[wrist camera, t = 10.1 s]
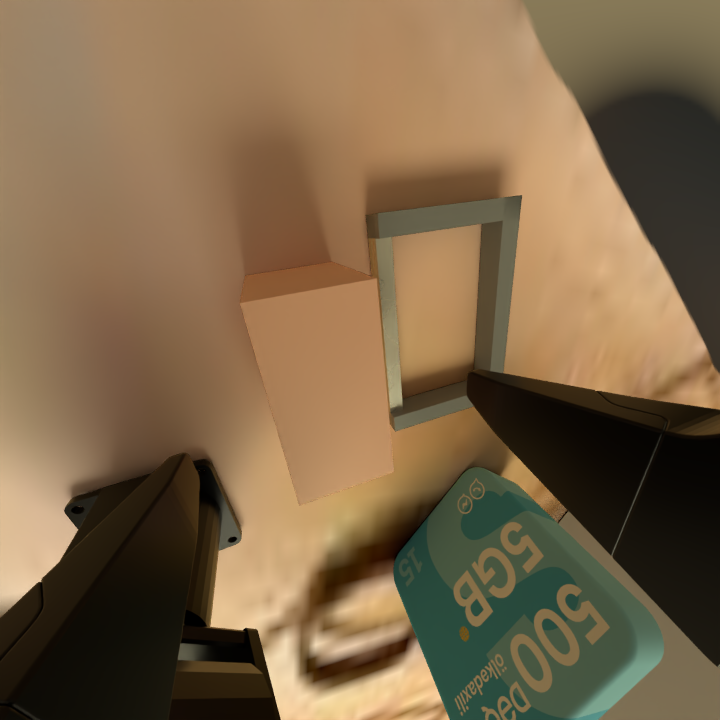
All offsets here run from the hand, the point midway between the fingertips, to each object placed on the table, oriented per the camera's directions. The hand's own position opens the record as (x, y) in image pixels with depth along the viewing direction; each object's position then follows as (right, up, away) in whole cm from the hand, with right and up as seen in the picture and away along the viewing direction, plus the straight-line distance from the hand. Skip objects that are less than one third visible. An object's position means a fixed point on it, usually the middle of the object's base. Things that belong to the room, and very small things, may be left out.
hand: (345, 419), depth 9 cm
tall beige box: (-2, +3, +6) cm, 7 cm away
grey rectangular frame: (+5, +4, +8) cm, 10 cm away
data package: (+8, -12, +16) cm, 21 cm away
